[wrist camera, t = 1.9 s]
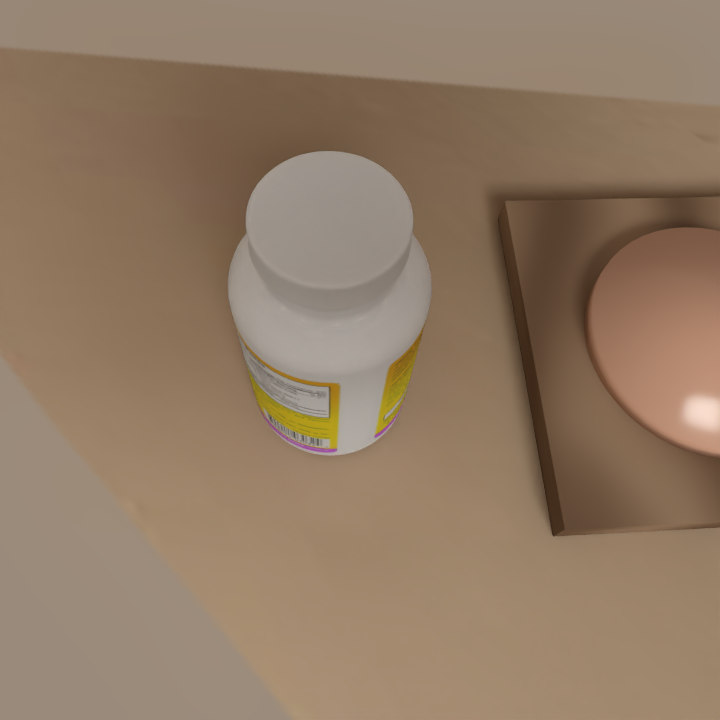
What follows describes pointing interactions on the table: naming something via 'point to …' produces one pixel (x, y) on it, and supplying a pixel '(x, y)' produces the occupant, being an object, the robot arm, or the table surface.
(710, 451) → the pink dome
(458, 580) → the table surface
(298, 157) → the supplement bottle
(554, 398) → the square brown tray
